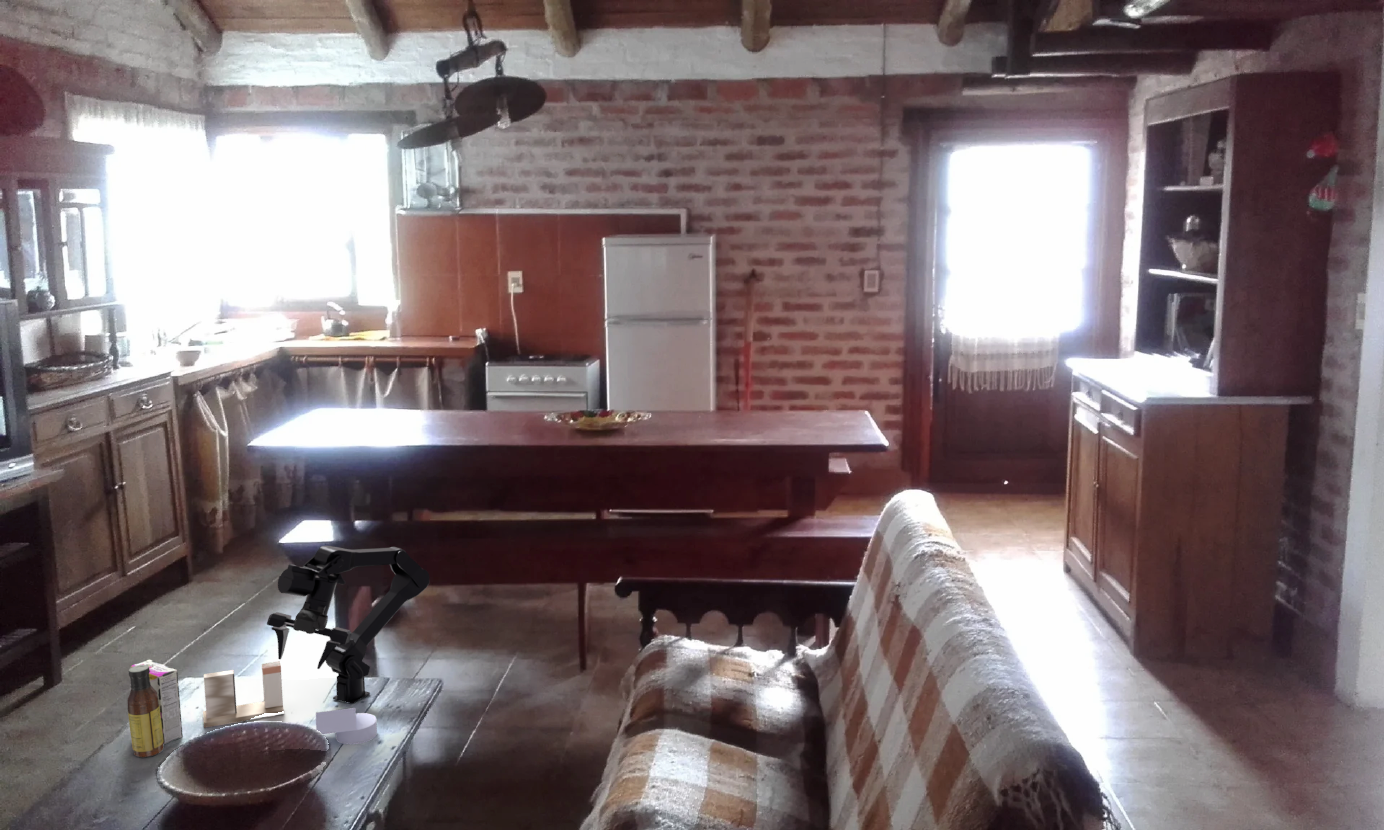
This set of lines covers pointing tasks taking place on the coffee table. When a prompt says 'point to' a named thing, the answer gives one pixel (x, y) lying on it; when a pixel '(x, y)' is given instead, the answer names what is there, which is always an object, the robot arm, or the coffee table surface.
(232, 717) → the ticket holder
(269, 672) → the white tall block
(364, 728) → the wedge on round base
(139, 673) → the sauce bottle
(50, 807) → the coffee table surface
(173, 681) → the candy bar box
